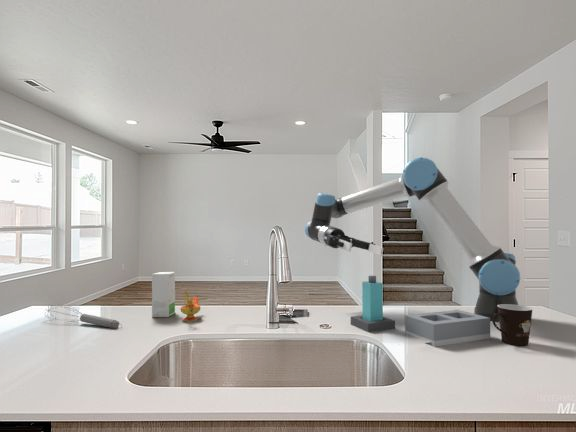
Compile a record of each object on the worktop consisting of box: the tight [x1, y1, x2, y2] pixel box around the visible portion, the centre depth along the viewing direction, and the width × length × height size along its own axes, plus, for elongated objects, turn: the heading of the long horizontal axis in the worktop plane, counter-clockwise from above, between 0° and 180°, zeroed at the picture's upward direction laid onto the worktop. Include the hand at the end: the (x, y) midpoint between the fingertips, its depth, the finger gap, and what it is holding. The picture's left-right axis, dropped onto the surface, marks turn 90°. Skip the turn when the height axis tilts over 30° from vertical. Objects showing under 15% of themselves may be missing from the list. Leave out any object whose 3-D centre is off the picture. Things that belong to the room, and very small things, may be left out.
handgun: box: [279, 308, 309, 324], centre depth 142 cm, size 13×2×18 cm
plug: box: [361, 274, 384, 322], centre depth 124 cm, size 4×4×16 cm
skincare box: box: [151, 271, 176, 318], centre depth 145 cm, size 8×7×16 cm
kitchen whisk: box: [44, 302, 123, 329], centre depth 132 cm, size 6×34×6 cm, turn 68°
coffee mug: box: [492, 304, 533, 347], centre depth 111 cm, size 12×9×10 cm
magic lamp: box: [180, 290, 201, 322], centre depth 140 cm, size 7×18×11 cm, turn 179°
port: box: [404, 309, 491, 348], centre depth 116 cm, size 21×12×6 cm, turn 112°
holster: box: [350, 314, 396, 333], centre depth 124 cm, size 10×10×4 cm
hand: (366, 249), depth 132 cm, fingers open, 13 cm apart
